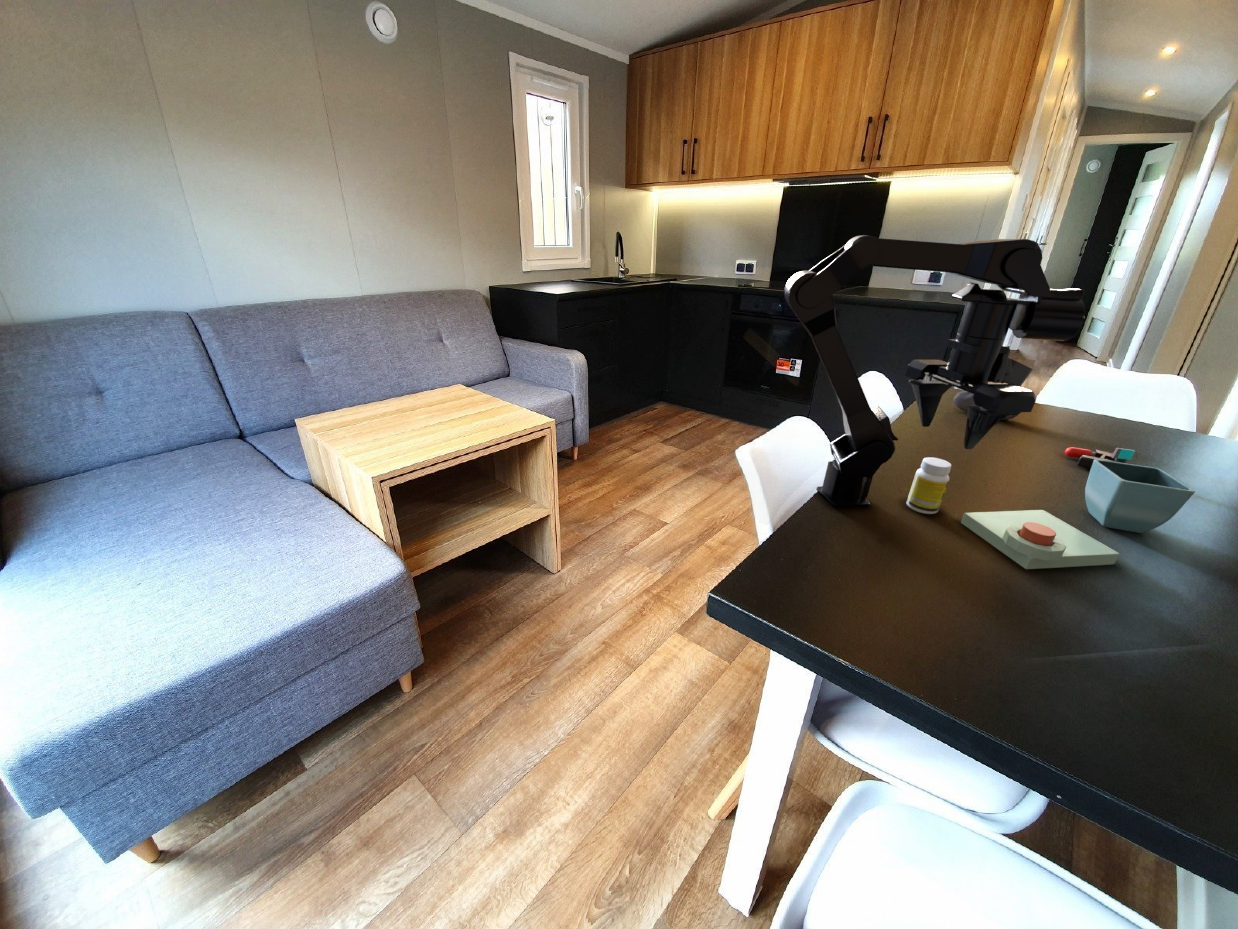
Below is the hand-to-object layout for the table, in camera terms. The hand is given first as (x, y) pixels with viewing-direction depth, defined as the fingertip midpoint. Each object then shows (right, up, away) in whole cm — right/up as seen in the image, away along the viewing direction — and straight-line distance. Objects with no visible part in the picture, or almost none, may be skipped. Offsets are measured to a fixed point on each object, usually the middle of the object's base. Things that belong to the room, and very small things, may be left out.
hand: (945, 437), depth 76 cm
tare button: (+7, -15, -8) cm, 18 cm away
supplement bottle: (0, -12, +6) cm, 13 cm away
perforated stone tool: (+44, +8, +51) cm, 68 cm away
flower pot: (+29, -14, +3) cm, 33 cm away
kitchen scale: (+11, -16, -3) cm, 20 cm away
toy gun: (+47, -4, +25) cm, 54 cm away
